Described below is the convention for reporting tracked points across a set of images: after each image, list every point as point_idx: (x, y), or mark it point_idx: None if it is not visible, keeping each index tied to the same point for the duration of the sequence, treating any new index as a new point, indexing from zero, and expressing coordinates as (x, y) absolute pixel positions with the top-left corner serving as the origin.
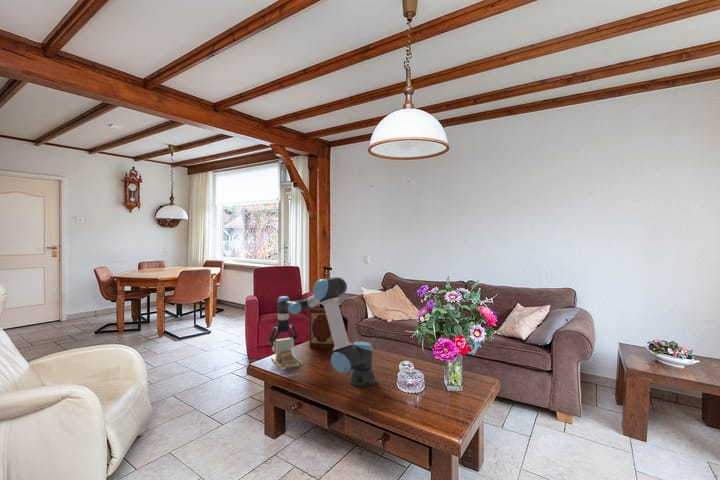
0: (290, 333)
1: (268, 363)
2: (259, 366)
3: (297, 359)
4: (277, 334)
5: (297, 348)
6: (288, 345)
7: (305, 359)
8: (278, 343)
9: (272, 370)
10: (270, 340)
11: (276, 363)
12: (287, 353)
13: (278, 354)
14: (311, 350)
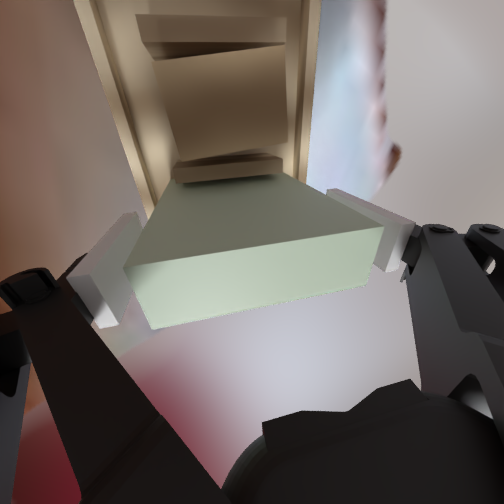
0: (90, 387)
1: (318, 181)
2: (376, 154)
3: (105, 63)
4: (492, 317)
5: (116, 344)
6: (186, 213)
7: (36, 138)
8: (334, 214)
9: (351, 6)
10: (489, 229)
11: (315, 68)
12: (221, 53)
13: (282, 179)
14: (6, 305)
